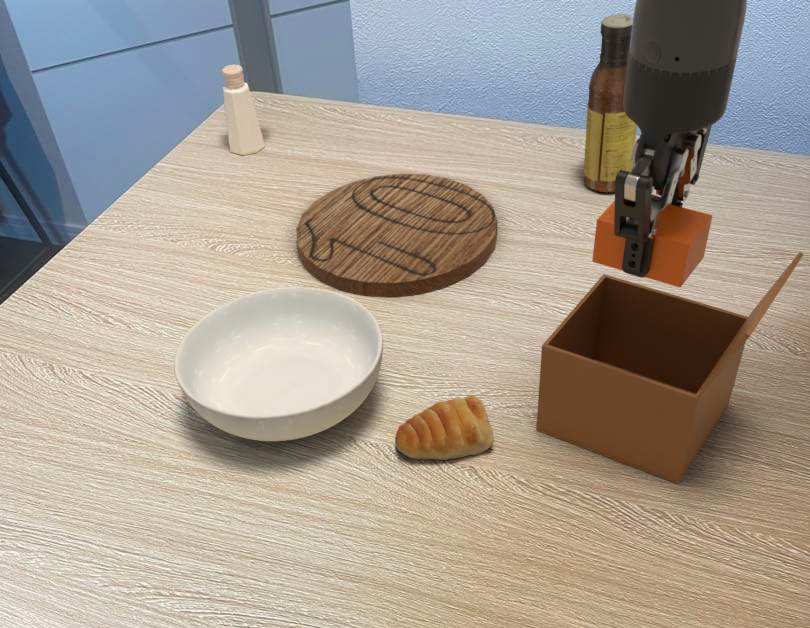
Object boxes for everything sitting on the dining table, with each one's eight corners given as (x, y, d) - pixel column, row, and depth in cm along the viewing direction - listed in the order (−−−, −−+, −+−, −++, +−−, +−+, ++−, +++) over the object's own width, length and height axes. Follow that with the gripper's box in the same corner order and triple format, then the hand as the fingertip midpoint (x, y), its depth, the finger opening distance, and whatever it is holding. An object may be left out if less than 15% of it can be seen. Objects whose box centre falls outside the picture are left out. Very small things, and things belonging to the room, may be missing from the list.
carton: (728, 404, 91) (752, 317, 83) (677, 484, 85) (698, 398, 77) (593, 358, 97) (603, 273, 89) (536, 430, 91) (541, 345, 83)
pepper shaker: (224, 155, 132) (206, 76, 123) (234, 137, 135) (218, 59, 127) (260, 156, 131) (245, 76, 122) (270, 138, 134) (256, 59, 126)
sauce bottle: (638, 177, 121) (661, 14, 106) (618, 199, 117) (639, 34, 102) (592, 166, 123) (608, 6, 108) (572, 188, 120) (585, 25, 105)
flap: (752, 310, 83) (756, 313, 83) (698, 390, 76) (702, 393, 76) (800, 251, 77) (804, 254, 77) (745, 333, 70) (750, 335, 70)
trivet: (432, 319, 103) (431, 305, 102) (258, 263, 113) (255, 250, 111) (532, 213, 116) (532, 199, 115) (368, 171, 126) (367, 158, 125)
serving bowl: (299, 314, 105) (290, 262, 100) (429, 393, 95) (426, 339, 90) (150, 404, 97) (131, 352, 91) (274, 502, 86) (261, 449, 81)
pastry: (408, 476, 87) (405, 447, 85) (386, 432, 92) (383, 403, 89) (499, 451, 89) (499, 421, 86) (474, 408, 93) (474, 379, 90)
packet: (703, 257, 78) (712, 214, 75) (680, 287, 75) (689, 244, 72) (616, 233, 81) (622, 191, 78) (591, 261, 78) (596, 219, 75)
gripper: (695, 96, 60) (656, 314, 73) (770, 17, 67) (722, 227, 80) (590, 75, 63) (570, 287, 76) (673, 1, 70) (642, 206, 83)
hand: (649, 255), depth 78 cm, fingers closed on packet, 5 cm apart
